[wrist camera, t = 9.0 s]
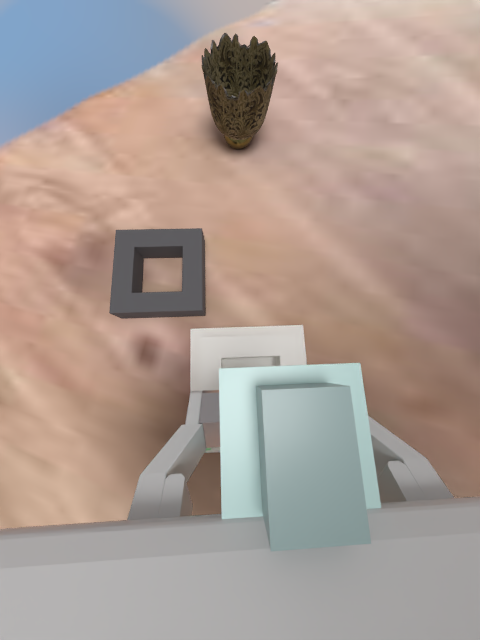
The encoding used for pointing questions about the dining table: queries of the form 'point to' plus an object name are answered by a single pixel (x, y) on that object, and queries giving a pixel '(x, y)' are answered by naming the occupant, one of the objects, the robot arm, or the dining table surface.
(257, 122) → the cup
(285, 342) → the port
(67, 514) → the dining table surface
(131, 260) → the holster
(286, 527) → the plug
